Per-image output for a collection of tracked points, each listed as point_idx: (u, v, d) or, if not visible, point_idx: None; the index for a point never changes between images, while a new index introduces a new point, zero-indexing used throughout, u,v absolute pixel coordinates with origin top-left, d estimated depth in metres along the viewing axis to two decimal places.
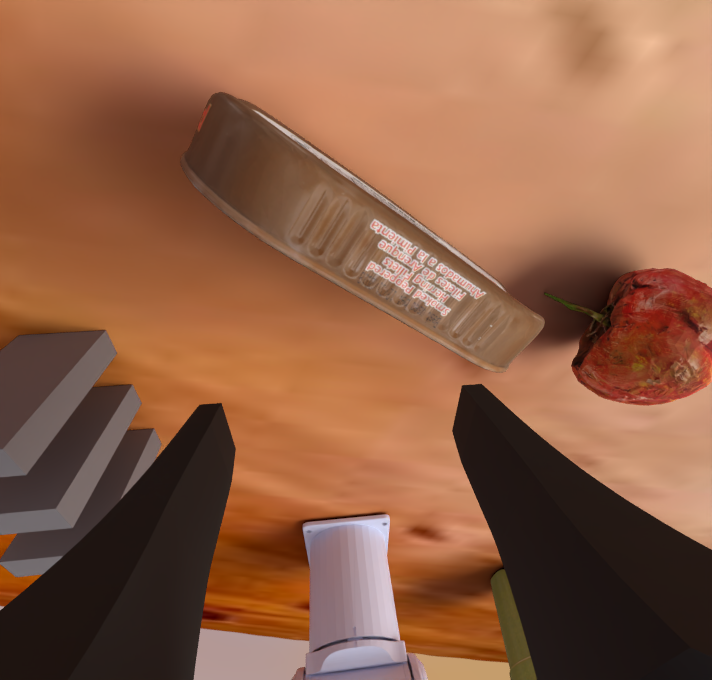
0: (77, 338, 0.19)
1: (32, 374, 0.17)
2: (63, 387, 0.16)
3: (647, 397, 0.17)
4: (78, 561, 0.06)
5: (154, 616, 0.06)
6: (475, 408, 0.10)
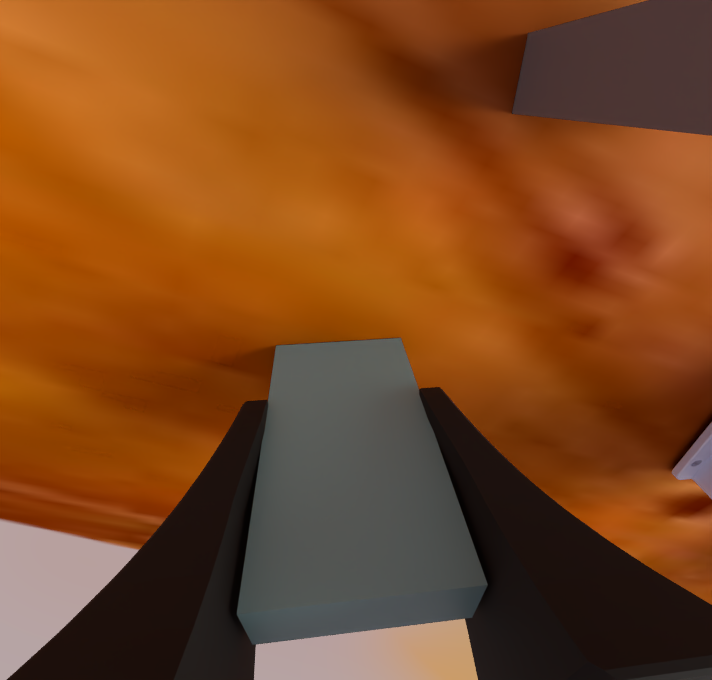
0: None
1: None
2: None
3: None
4: (159, 553, 0.06)
5: (229, 607, 0.06)
6: (429, 412, 0.10)
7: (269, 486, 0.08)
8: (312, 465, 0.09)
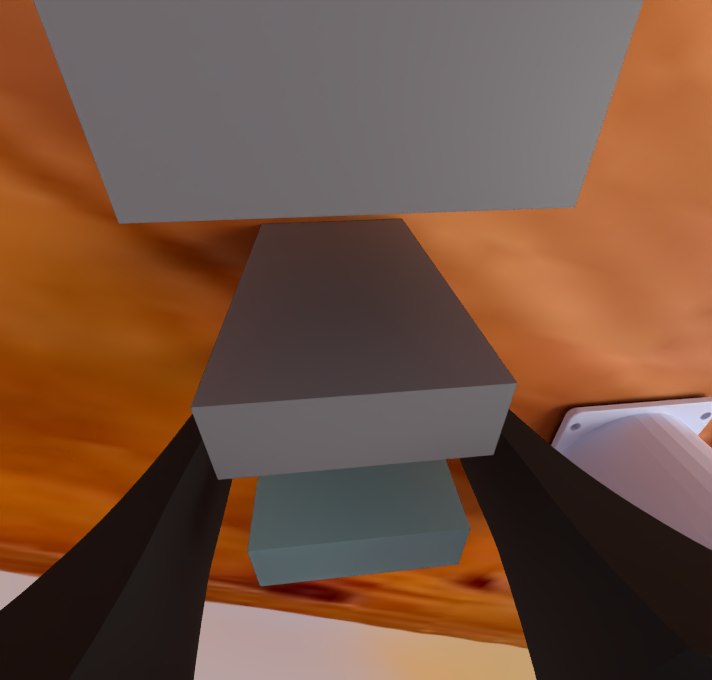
0: None
1: None
2: None
3: None
4: (79, 561, 0.06)
5: (154, 616, 0.06)
6: None
7: None
8: None
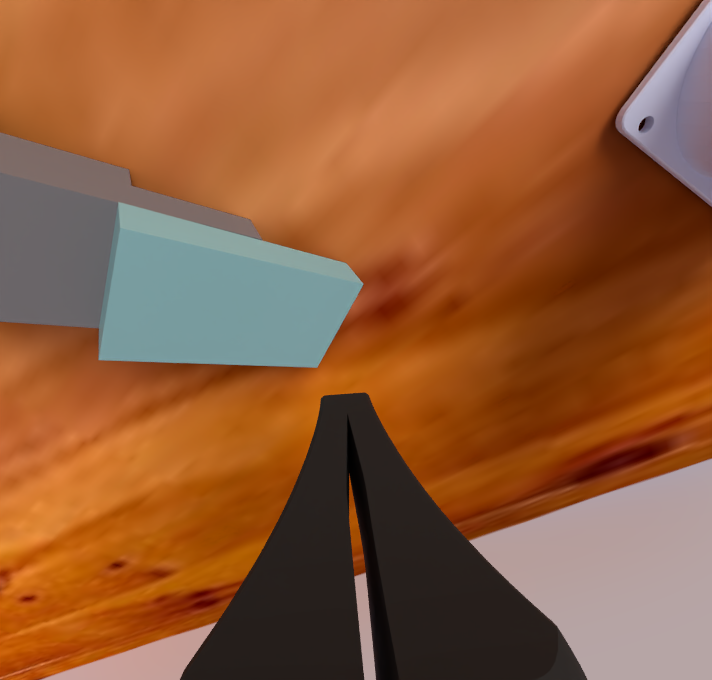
0: None
1: None
2: None
3: None
4: (293, 539, 0.06)
5: None
6: (347, 418, 0.09)
7: None
8: None
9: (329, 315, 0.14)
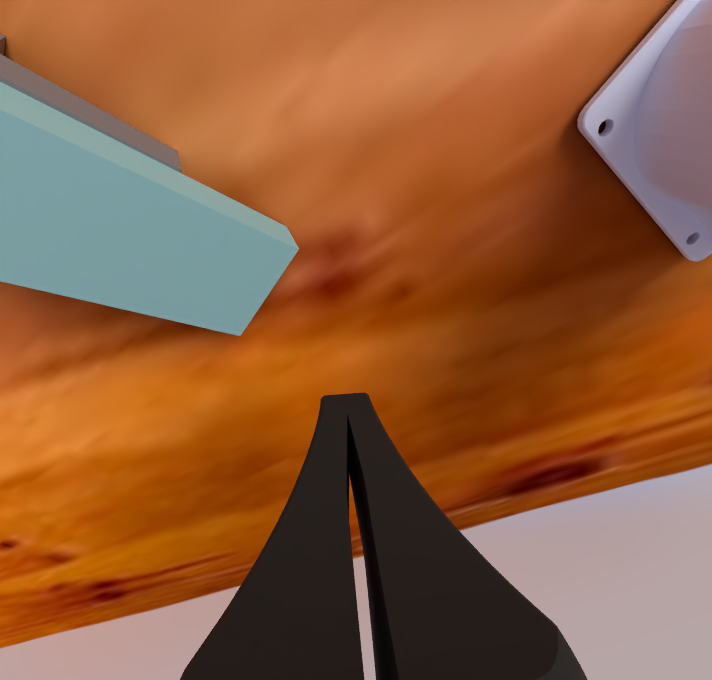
0: None
1: None
2: None
3: None
4: (293, 539, 0.06)
5: None
6: (347, 418, 0.09)
7: None
8: None
9: (257, 277, 0.13)
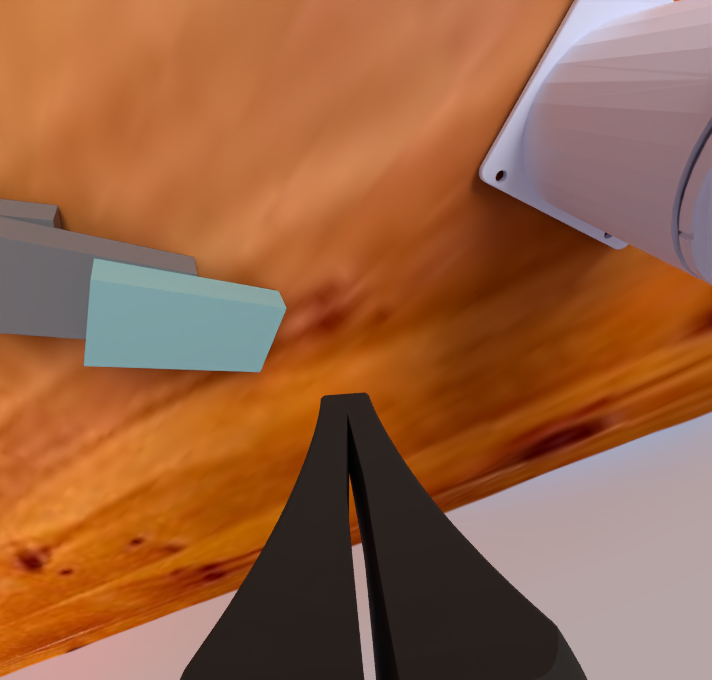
0: None
1: None
2: None
3: None
4: (293, 539, 0.06)
5: None
6: (347, 418, 0.09)
7: None
8: None
9: (262, 332, 0.18)
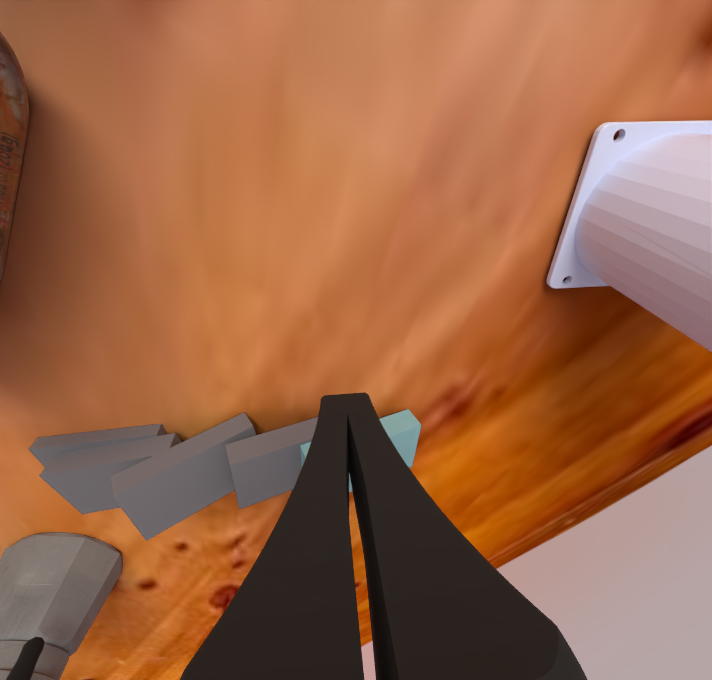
0: None
1: None
2: None
3: None
4: (293, 540, 0.06)
5: None
6: (347, 418, 0.09)
7: None
8: None
9: (408, 444, 0.25)
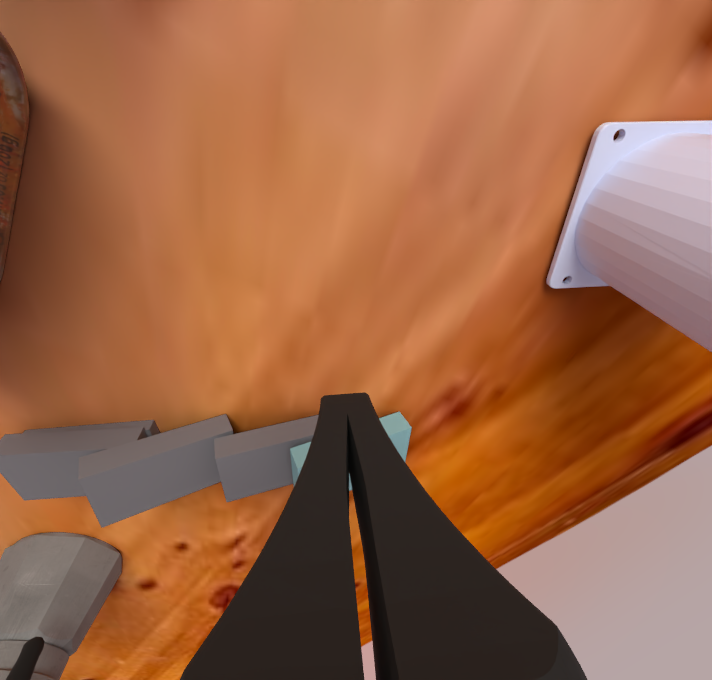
0: None
1: None
2: None
3: None
4: (293, 540, 0.06)
5: None
6: (347, 418, 0.09)
7: None
8: None
9: (399, 447, 0.25)
